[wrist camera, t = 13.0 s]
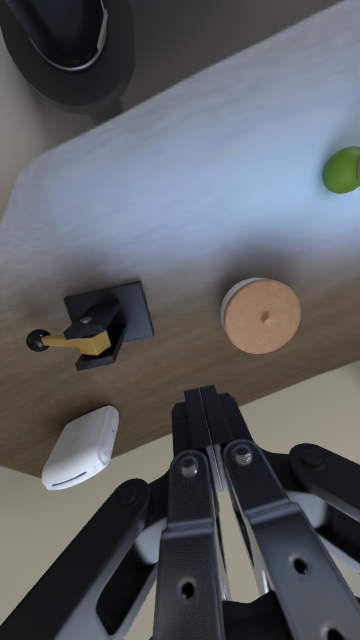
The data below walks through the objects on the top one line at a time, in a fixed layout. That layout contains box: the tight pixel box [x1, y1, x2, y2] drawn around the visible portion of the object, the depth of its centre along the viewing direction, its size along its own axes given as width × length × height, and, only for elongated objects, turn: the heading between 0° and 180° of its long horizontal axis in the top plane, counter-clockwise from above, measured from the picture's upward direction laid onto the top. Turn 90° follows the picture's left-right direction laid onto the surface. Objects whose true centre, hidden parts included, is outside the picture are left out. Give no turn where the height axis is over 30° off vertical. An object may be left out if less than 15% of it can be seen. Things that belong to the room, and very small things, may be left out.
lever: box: [26, 329, 111, 355], centre depth 33 cm, size 14×3×3 cm
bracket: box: [63, 281, 154, 371], centre depth 34 cm, size 12×9×13 cm
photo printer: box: [42, 405, 119, 490], centre depth 40 cm, size 10×4×12 cm, turn 114°
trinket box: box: [221, 278, 301, 354], centre depth 37 cm, size 11×11×9 cm
